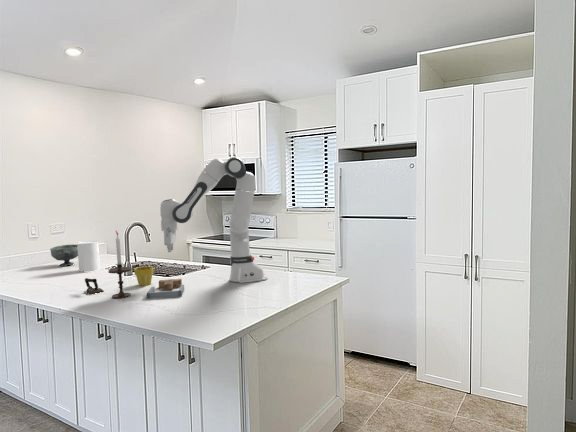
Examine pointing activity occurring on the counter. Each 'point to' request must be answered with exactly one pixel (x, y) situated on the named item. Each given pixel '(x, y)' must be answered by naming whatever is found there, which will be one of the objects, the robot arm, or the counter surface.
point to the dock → (164, 293)
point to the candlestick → (119, 272)
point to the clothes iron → (90, 289)
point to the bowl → (65, 253)
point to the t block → (169, 284)
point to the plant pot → (144, 275)
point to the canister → (88, 256)
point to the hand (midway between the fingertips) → (170, 251)
